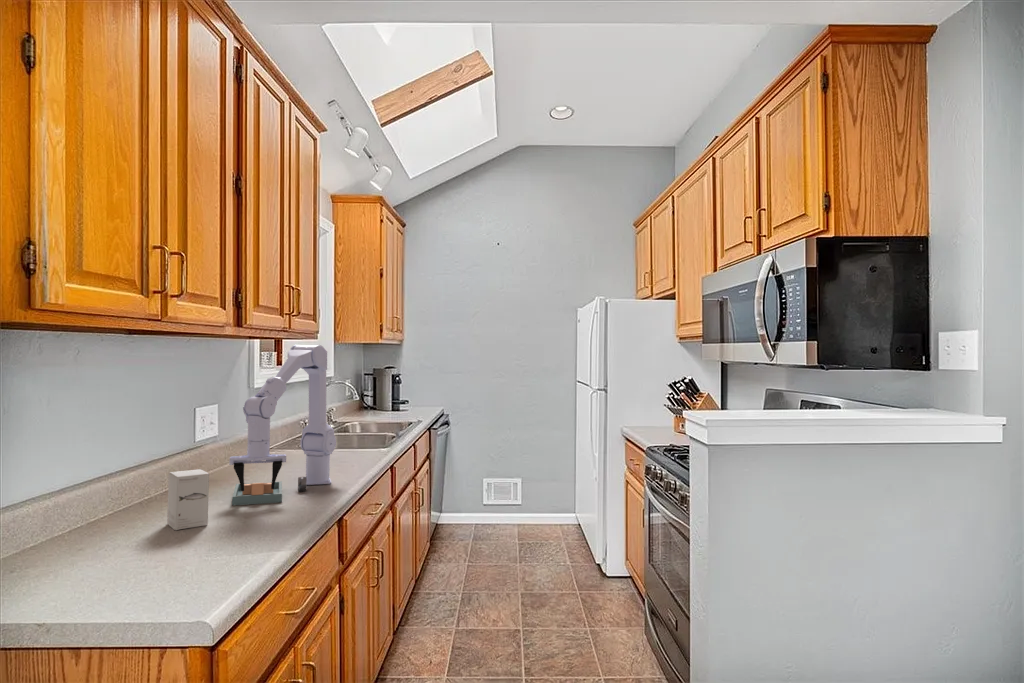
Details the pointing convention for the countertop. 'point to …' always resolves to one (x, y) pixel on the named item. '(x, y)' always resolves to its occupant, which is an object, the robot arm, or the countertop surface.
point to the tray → (257, 499)
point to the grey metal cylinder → (302, 484)
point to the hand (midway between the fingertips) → (257, 489)
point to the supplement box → (188, 499)
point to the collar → (257, 488)
